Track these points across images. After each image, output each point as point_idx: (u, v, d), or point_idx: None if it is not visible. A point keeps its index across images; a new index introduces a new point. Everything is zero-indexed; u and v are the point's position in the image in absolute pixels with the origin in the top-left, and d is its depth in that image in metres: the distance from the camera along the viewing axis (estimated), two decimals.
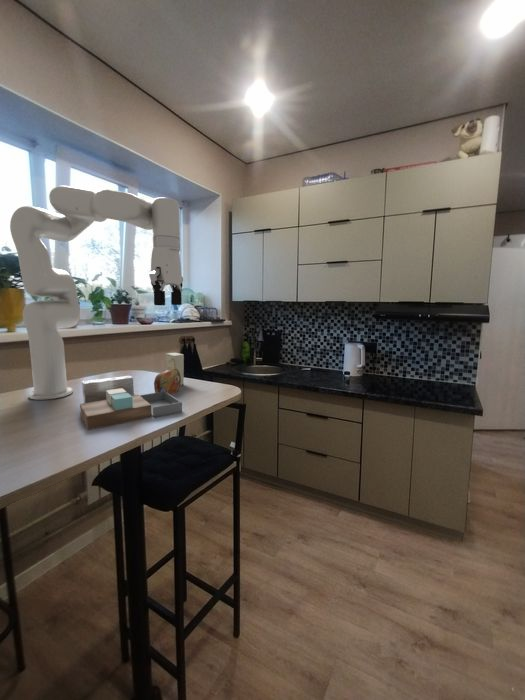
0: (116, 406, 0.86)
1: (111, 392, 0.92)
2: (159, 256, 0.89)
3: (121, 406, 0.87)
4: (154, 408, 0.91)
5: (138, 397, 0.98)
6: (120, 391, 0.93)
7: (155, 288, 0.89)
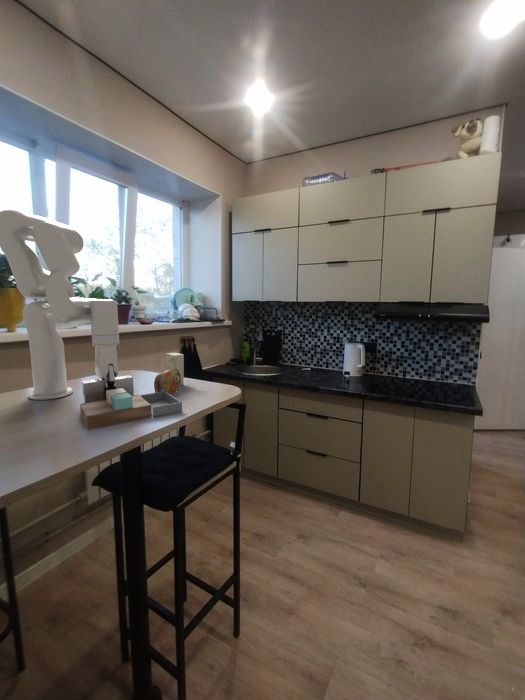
0: (116, 406, 0.86)
1: (111, 392, 0.92)
2: (111, 354, 0.96)
3: (121, 406, 0.87)
4: (154, 408, 0.91)
5: (138, 397, 0.98)
6: (120, 391, 0.93)
7: (110, 386, 0.98)
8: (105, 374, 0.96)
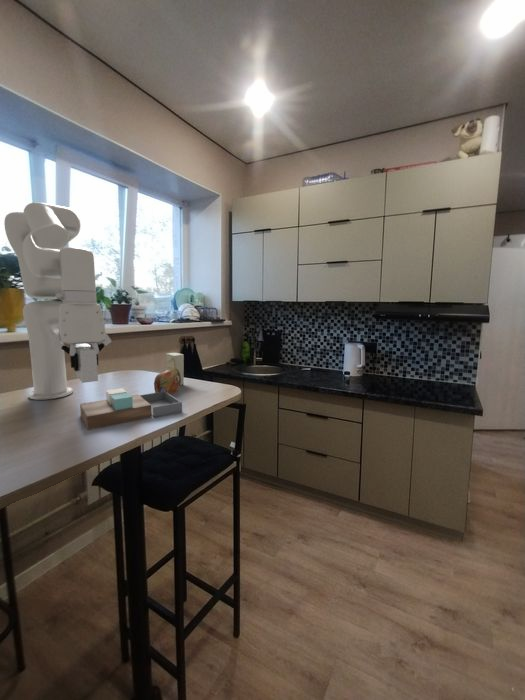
0: (116, 406, 0.86)
1: (111, 392, 0.92)
2: None
3: (121, 406, 0.87)
4: (154, 408, 0.91)
5: (138, 397, 0.98)
6: (120, 391, 0.93)
7: None
8: None
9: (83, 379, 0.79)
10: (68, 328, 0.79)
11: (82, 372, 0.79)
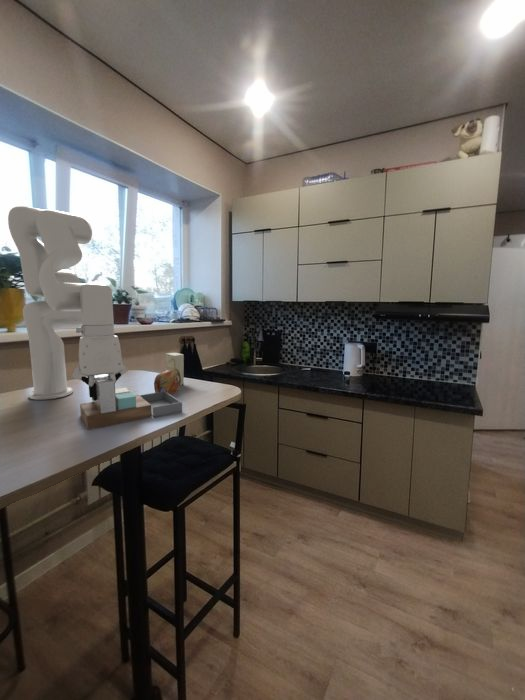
0: (120, 405, 0.87)
1: (115, 391, 0.93)
2: None
3: (125, 406, 0.87)
4: (154, 408, 0.91)
5: (138, 397, 0.98)
6: (123, 390, 0.94)
7: None
8: (122, 365, 0.89)
9: (102, 410, 0.83)
10: (88, 361, 0.83)
11: (101, 403, 0.82)
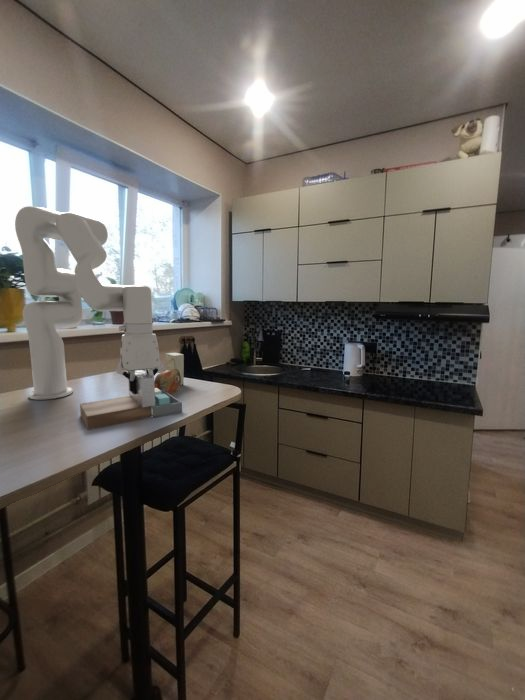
0: (162, 399, 0.93)
1: None
2: None
3: (162, 403, 0.93)
4: (154, 408, 0.91)
5: None
6: None
7: None
8: None
9: (143, 404, 0.89)
10: (130, 357, 0.89)
11: (142, 398, 0.89)
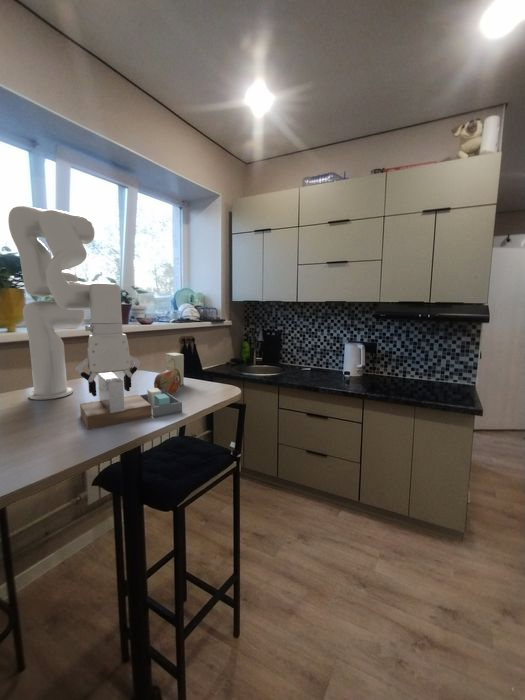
0: (162, 399, 0.93)
1: None
2: None
3: (162, 403, 0.93)
4: (154, 408, 0.91)
5: (138, 397, 0.98)
6: None
7: None
8: None
9: (111, 410, 0.84)
10: (97, 358, 0.84)
11: (110, 403, 0.84)
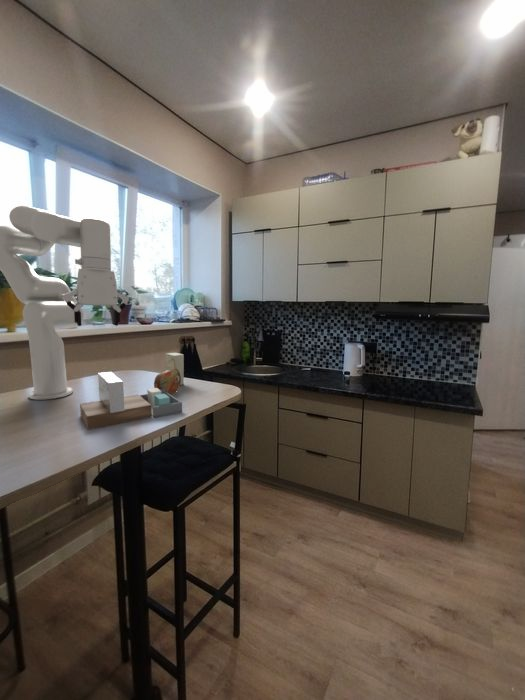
0: (162, 399, 0.93)
1: None
2: None
3: (162, 403, 0.93)
4: (154, 408, 0.91)
5: (138, 397, 0.98)
6: None
7: None
8: None
9: (111, 410, 0.84)
10: (85, 290, 0.89)
11: (110, 403, 0.84)
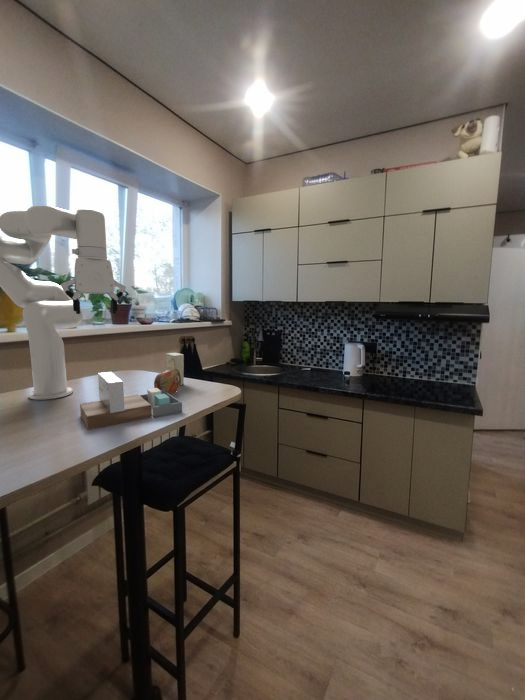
0: (162, 399, 0.93)
1: None
2: None
3: (162, 403, 0.93)
4: (154, 408, 0.91)
5: (138, 397, 0.98)
6: None
7: None
8: None
9: (111, 410, 0.84)
10: (83, 279, 0.92)
11: (110, 403, 0.84)
